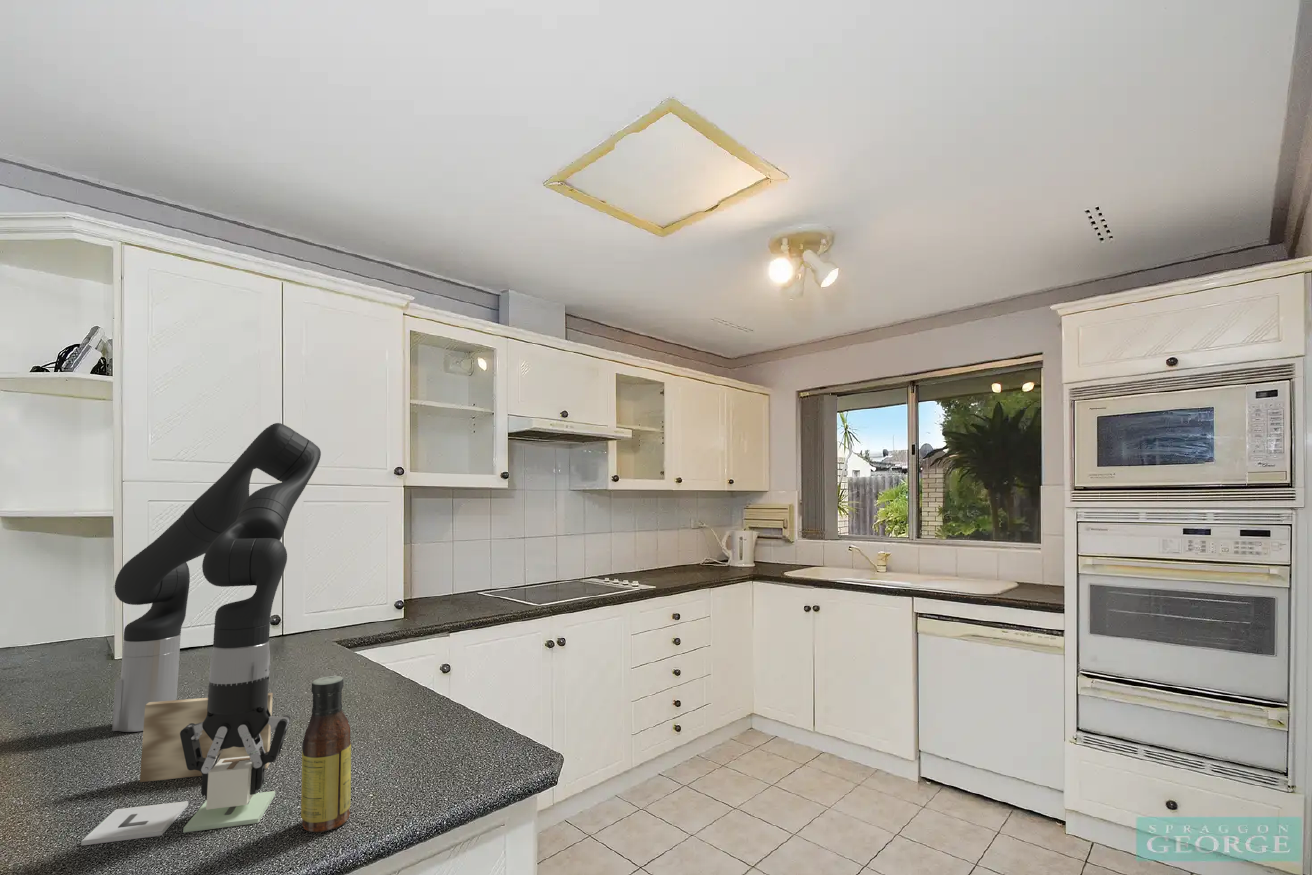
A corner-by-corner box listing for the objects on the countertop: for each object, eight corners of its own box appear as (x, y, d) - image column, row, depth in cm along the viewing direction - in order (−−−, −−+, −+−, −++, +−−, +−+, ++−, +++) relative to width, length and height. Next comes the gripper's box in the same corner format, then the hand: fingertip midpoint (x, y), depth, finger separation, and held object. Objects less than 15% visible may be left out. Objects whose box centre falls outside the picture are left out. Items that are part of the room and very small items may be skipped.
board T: (183, 832, 89) (183, 827, 89) (207, 802, 97) (207, 797, 97) (257, 823, 91) (258, 817, 91) (275, 794, 100) (275, 790, 100)
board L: (80, 845, 85) (81, 839, 85) (115, 813, 94) (116, 808, 94) (161, 835, 88) (161, 829, 88) (188, 805, 96) (188, 800, 96)
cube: (206, 809, 91) (208, 771, 92) (218, 793, 96) (220, 758, 96) (246, 804, 93) (248, 767, 93) (257, 789, 97) (258, 754, 98)
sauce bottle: (335, 808, 95) (341, 669, 97) (359, 820, 92) (364, 676, 94) (289, 827, 90) (296, 680, 92) (312, 841, 86) (319, 687, 88)
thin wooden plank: (139, 782, 104) (145, 704, 105) (144, 778, 106) (149, 702, 107) (266, 768, 109) (270, 695, 110) (269, 765, 111) (272, 692, 112)
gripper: (172, 685, 90) (163, 813, 89) (287, 677, 94) (281, 799, 93) (193, 671, 97) (185, 790, 96) (299, 664, 102) (294, 778, 100)
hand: (232, 794), depth 94 cm, fingers closed on cube, 5 cm apart
